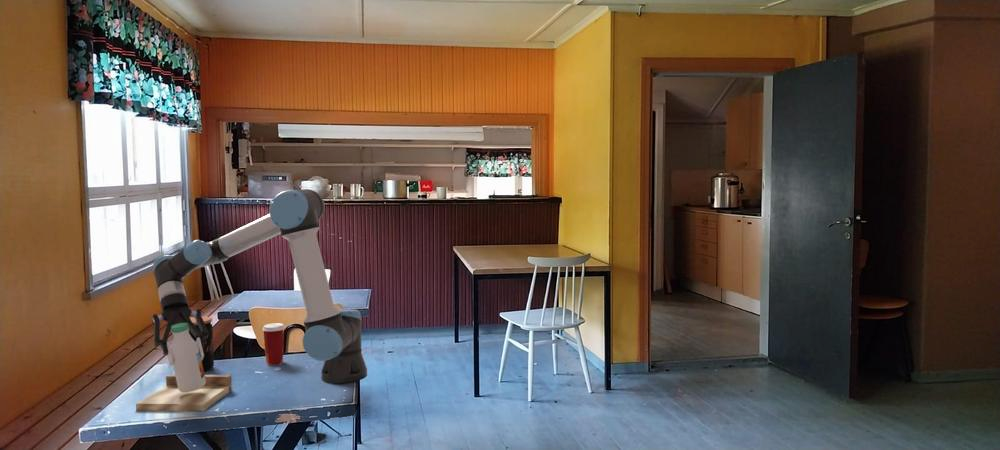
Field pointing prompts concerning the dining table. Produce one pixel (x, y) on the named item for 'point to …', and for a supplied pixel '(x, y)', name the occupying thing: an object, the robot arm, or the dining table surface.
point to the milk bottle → (186, 360)
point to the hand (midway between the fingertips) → (186, 360)
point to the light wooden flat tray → (187, 395)
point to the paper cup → (274, 343)
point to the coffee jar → (206, 343)
